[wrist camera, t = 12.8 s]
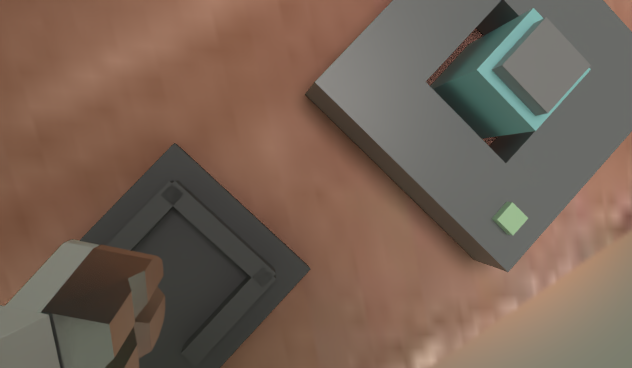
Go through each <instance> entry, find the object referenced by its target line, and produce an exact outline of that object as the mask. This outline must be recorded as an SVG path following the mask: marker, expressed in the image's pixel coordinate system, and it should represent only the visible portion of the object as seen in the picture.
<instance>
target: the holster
mask: <svg viewBox="0 0 632 368" xmlns="http://www.w3.org/2000/svg"><path fill="white" fill-rule="evenodd" d="M80 241H83V242H88V243H93V244H97V245H106V246H111V247H116V248H121V249H125V250H130V251H135V252H140V253H145V254H150V255H155V256H158V257H159V258H161V259H162V263H163V273H164V276H163V277H162V279H161V281H160V283H159V284H158V288H159V289H160V290H161V291H162V293H163V294H164V295H165V315H164V321H163V324H162V328H161V331H160V334H159V337H158V339H157V341H156V343H155V345H154V347H153V349H152V351H151V352H149V353H148V354H146V355H144V356H143V357H141V358H139V368H220V367H221V366H222V365H223V364H224V363H225V362H226V360H227V359H228V358H229V357H230V356H231V355H232V354H233V353H234V352H235V351H236V350H237V348H238V347H239V346H240V345H241V344H242V343H243V342H244V341H245V340H246V339H247V338H248V337H249V335H250V334H251V333H252V332H253V331H254V330H255V329H256V328H257V327H258V326H259V325H260V323H261V322H262V321H263V320H264V319H265V318H266V317H267V316H268V315H269V314H270V313H271V312H272V310H273V309H274V308H275V307H276V306H277V305H278V304H279V303H280V302H281V301H282V300H283V298H284V297H285V296H286V295H287V294H288V293H289V292H290V291H291V290H292V289H293V288H294V286H295V285H296V284H297V283H298V282H299V281H300V280H301V279H302V278H303V277H304V276H305V275H306V273H307V272H308V271H309V270H310V268H309V266H308V265H307V264H306V263H305V262H303V261H302V260H301V259H300V258H299V257H298V256H297V255H296V254H295V253H294V252H293V251H292V250H291V249H289V248H288V247H287V246H286V245H285V244H284V243H283V242H282V241H281V240H280V239H279V238H278V237H276V236H275V235H274V234H273V233H272V232H271V231H270V230H269V229H268V228H267V227H266V226H265V225H264V224H262V223H261V222H260V221H259V220H258V219H257V218H256V217H255V216H254V215H253V214H252V213H251V212H249V211H248V210H247V209H246V208H245V207H244V206H243V205H242V204H241V203H240V202H239V201H238V200H237V199H235V198H234V197H233V196H232V195H231V194H230V193H229V192H228V191H227V190H226V189H225V188H224V187H222V186H221V185H220V184H219V183H218V182H217V181H216V180H215V179H214V178H213V177H212V176H211V175H210V174H208V173H207V172H206V171H205V170H204V169H203V168H202V167H201V166H200V165H199V164H198V163H197V162H195V161H194V160H193V159H192V158H191V157H190V156H189V155H188V154H187V153H186V152H185V151H184V150H183V149H181V148H180V147H179V146H178V145H177V144H175V143H174V144H173V145H172V146H171V147H170V148H169V149H168V150H167V151H166V152H165V153H164V154H163V155H162V156H161V157H160V158H159V159H158V160H157V161H156V162H155V163H154V164H153V165H152V167H151V168H150V169H149V170H148V171H147V172H146V173H145V174H144V175H143V176H142V177H141V178H140V179H139V180H138V181H137V182H136V183H135V184H134V185H133V186H132V187H131V188H130V189H129V190H128V191H127V192H126V193H125V194H124V195H123V196H122V197H121V198H120V199H119V200H118V201H117V202H116V204H115V205H114V206H113V207H112V208H111V209H110V210H109V211H108V212H107V213H106V214H105V215H104V216H103V217H102V218H101V219H100V220H99V221H98V222H97V223H96V224H95V225H94V226H93V227H92V228H91V229H90V230H89V231H88V232H87V233H86V234H85V235H84V236H83V237H82V238H81V239H80Z"/></svg>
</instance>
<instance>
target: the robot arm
mask: <svg viewBox="0 0 632 368" xmlns="http://www.w3.org/2000/svg"><path fill="white" fill-rule="evenodd" d="M163 276H164V273H163V263H162V259H161V258H159V257H158V256H155V255H150V254H145V253H140V252H135V251H130V250H125V249H121V248H116V247H111V246H106V245H97V244H93V243H88V242H83V241H78V240H74V239H72V240H69V241H67V242H64V243H63V244H62V245H61V246H60V247H59V248H58V249H57V250H56V251H55V252H54V253H53V254H52V256H51V257H50V258H49V259H48V260H47V261H46V262H45V263H44V264H43V265H42V266H41V267H40V269H39V270H38V271H37V272H36V273H35V274H34V275H33V276H32V277H31V278H30V279H29V280H28V281H27V283H26V284H25V285H24V286H23V287H22V288H21V289H20V290H19V291H18V292H17V293H16V294H15V295H14V297H13V298H12V299H11V300H10V301H9V302H8V303H7V304H6V305H5V306H1V305H0V368H139V358H141V357H143V356H144V355H146V354H148V353H149V352H151V351H152V349H153V347H154V345H155V343H156V341H157V339H158V337H159V334H160V331H161V328H162V324H163V321H164V315H165V295H164V294H163V293H162V291H161V290H160V289H159V288H158V284H159V283H160V281H161V279H162V277H163Z"/></svg>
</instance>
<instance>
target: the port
mask: <svg viewBox="0 0 632 368" xmlns="http://www.w3.org/2000/svg"><path fill="white" fill-rule="evenodd" d="M532 8H534V9H535V10H536V11H537V12H538V13H539V14H540V15H541V16H542V17H543V18H545V17H547V18H548V19H549V20H550V22H551V23H552V24H553V25H554V26H555V27H556V28H557V29H558V30H559V31H560V32H561V33H562V35H563V36H564V37H565V38H566V39H567V40H568V41H569V42H570V43H571V44H572V45H573V46H574V47H575V49H576V50H577V51H578V52H579V53H580V54H581V55H582V56H583V57H584V58H585V59H586V60H587V61H588V63H589V64H590V65H591V66H590V67H589V68H590V69H591V70H590V71H589V72H588V73H587V74H586V76H585V77H584V78H583V79H582V80H581V81H580V82H579V83H578V84H577V86H576V87H575V88H574V89H573V90H572V91H571V92H570V93H569V95H568V96H567V97H566V98H565V99H564V100H563V101H562V102H561V103H560V105H559V106H558V107H557V108H556V109H555V110H554V111H553V112H552V113H551V115H550V116H549V117H548V118H547V119H546V120H545V121H544V122H543V123H542V125H541V126H540V127H539V128H538V129H537V130H536V131H532V132H525V133H518V134H511V135H504V136H498V137H497V138H496V140H495V141H494V142H493V143H492V144H491V145H490V146H488V145H487V144H486V143H485V142H484V141H483V140H482V139H481V138H480V137H479V136H478V135H477V134H476V132H475V131H474V130H473V129H472V128H471V127H470V126H469V125H468V124H467V123H466V122H465V121H464V120H463V119H462V118H461V117H460V116H459V115H458V114H457V113H456V112H455V111H454V110H453V109H452V108H451V107H450V106H449V105H448V104H447V103H446V102H445V101H444V100H443V99H442V98H441V97H440V96H439V95H438V94H437V93H436V92H435V91H434V90H433V89H432V88H431V87H430V86H429V85H428V84H427V83H426V81H427V80H428V78H429V77H430V76H431V75H432V74H433V73H434V72H435V71H436V70H437V69H438V68H439V67H440V66H441V65H442V63H443V62H444V61H445V60H446V59H447V58H448V57H449V56H450V55H451V54H452V53H453V52H454V51H455V50H456V48H457V47H458V46H459V45H460V44H461V43H462V42H463V41H464V40H465V39H466V38H467V37H468V36H469V34H470V33H471V32H472V31H473V30H474V29H475V28H477V29H478V30H479V31H480V32H481V33H482V34H483V35H486V34H488V33H490V32H491V31H493V30H495V29H497V28H499V27H500V26H502V25H504V24H506V23H507V22H509V21H511V20H513V19H515V18H516V17H518V16H520V15H522V14H524V13H525V12H527V11H529V10H531V9H532ZM305 95H306V96H307V97H308V98H309V99H311V100H312V101H313V102H314V103H315V104H316V105H317V106H318V107H319V108H320V109H321V110H322V111H323V112H324V113H325V114H326V115H327V116H328V117H329V118H330V119H331V120H332V121H333V122H334V123H335V124H336V125H337V126H338V127H339V128H340V129H341V130H342V131H343V132H344V133H345V134H346V135H347V136H348V137H349V138H350V139H351V140H352V141H354V142H355V143H356V144H357V145H358V146H359V147H360V148H361V149H362V150H363V151H364V152H365V153H366V154H367V155H368V156H369V157H370V158H371V159H372V160H373V161H374V162H375V163H376V164H377V165H378V166H379V167H380V168H381V169H382V170H383V171H384V172H385V173H386V174H387V175H388V176H389V177H390V178H391V179H392V180H393V181H394V182H396V183H397V184H398V185H399V186H400V187H401V188H402V189H403V190H404V191H405V192H406V193H407V194H408V195H409V196H410V197H411V198H412V199H413V200H414V201H415V202H416V203H417V204H418V205H419V206H420V207H421V208H422V209H423V210H424V211H425V212H426V213H427V214H428V215H429V216H430V217H431V218H432V219H433V220H434V221H435V222H436V223H437V224H439V225H440V226H441V227H442V228H443V229H444V230H445V231H446V232H447V233H448V234H449V235H450V236H451V237H452V238H453V239H454V240H455V241H456V242H457V243H458V244H459V245H460V246H461V247H462V248H463V249H464V250H465V251H466V252H467V253H468V254H469V255H470V256H471V257H472V258H473V259H474V260H477V261H479V262H482V263H485V264H487V265H490V266H493V267H496V268H498V269H501V270H504V271H506V272H509V270H510V269H511V268H512V267H513V266H514V265H515V264H516V262H517V261H518V260H519V259H520V258H521V257H522V256H523V255H524V253H525V252H526V251H527V250H528V249H529V248H530V247H531V245H532V244H533V243H534V242H535V241H536V240H537V239H538V237H539V236H540V235H541V234H542V233H543V232H544V231H545V229H546V228H547V227H548V226H549V225H550V224H551V223H552V221H553V220H554V219H555V218H556V217H557V216H558V215H559V213H560V212H561V211H562V210H563V209H564V208H565V207H566V206H567V204H568V203H569V202H570V201H571V200H572V199H573V198H574V196H575V195H576V194H577V193H578V192H579V191H580V190H581V188H582V187H583V186H584V185H585V184H586V183H587V182H588V180H589V179H590V178H591V177H592V176H593V175H594V174H595V172H596V171H597V170H598V169H599V168H600V167H601V166H602V164H603V163H604V162H605V161H606V160H607V159H608V158H609V157H610V155H611V154H612V153H613V152H614V151H615V150H616V149H617V147H618V146H619V145H620V144H621V143H622V142H623V141H624V139H625V138H626V137H627V136H628V135H629V134H630V133H631V131H632V32H631V31H630V29H629V28H628V27H627V26H626V25H625V24H624V23H623V22H622V21H621V20H620V18H619V17H618V16H617V15H616V14H615V13H614V12H613V11H612V10H611V8H610V7H609V6H608V5H607V4H606V3H605V2H604V1H603V0H393V1H392V2H391V3H390V4H389V5H388V6H387V7H386V8H385V9H384V10H383V11H382V12H381V13H380V14H379V15H378V16H377V17H376V19H375V20H374V21H373V22H372V23H371V24H370V25H369V26H368V27H367V28H366V29H365V30H364V31H363V32H362V33H361V34H360V35H359V36H358V37H357V38H356V39H355V40H354V42H353V43H352V44H351V45H350V46H349V47H348V48H347V49H346V50H345V51H344V52H343V53H342V54H341V55H340V56H339V57H338V58H337V59H336V60H335V61H334V62H333V64H332V65H331V66H330V67H329V68H328V69H327V70H326V71H325V72H324V73H323V74H322V75H321V76H320V77H319V78H318V79H317V80H316V81H315V82H314V84H313V85H312V86H311V87H310V89H309V90H308V91H307V92H306V94H305Z"/></svg>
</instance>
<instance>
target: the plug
mask: <svg viewBox="0 0 632 368" xmlns="http://www.w3.org/2000/svg"><path fill="white" fill-rule="evenodd" d="M590 66H591V65H590V64H589V63H588V61H587V60H586V59H585V58H584V57H583V56H582V55H581V54H580V53H579V52H578V51H577V50H576V49H575V47H574V46H573V45H572V44H571V43H570V42H569V41H568V40H567V39H566V38H565V37H564V36H563V35H562V33H561V32H560V31H559V30H558V29H557V28H556V27H555V26H554V25H553V24H552V23H551V22H550V20H549V19H548V18H547V17H545V18H543V17H542V16H541V15H540V14H539V13H538V12H537V11H536V10H535V9H534V8H532V9H531V10H529V11H527V12H525V13H524V14H522V15H520V16H518V17H516V18H515V19H513V20H511V21H509V22H507V23H506V24H504V25H502V26H500V27H499V28H497V29H495V30H493V31H491V32H490V33H488V34H486V35H484V36H483V37H481V38H479V39H477V40H475V41H474V42H472V43H470V44H469V45H468V46H467V47H466V48H465V49H464V50H463V51H462V52H461V53H460V54H459V55H458V56H457V57H456V59H455V60H454V61H453V62H452V63H451V64H450V65H449V66H448V67H447V68H446V69H445V70H444V71H443V73H442V74H441V75H440V76H439V77H438V78H437V79H436V80H435V81H434V82H433V83H432V84H431V85H430V87H431V88H432V89H433V90H434V91H435V92H436V93H437V94H438V95H439V96H440V97H441V98H442V99H443V100H444V101H445V102H446V103H447V104H448V105H449V106H450V107H451V108H452V109H453V110H454V111H455V112H456V113H457V114H458V115H459V116H460V117H461V118H462V119H463V120H464V121H465V122H466V123H467V124H468V125H469V126H470V127H471V128H472V129H473V130H474V131H475V132H476V134H477V135H478V136H479V137H480V138H481V139H482V138H489V137H496V136H504V135H511V134H518V133H525V132H532V131H536V130H537V129H538V128H539V127H540V126H541V125H542V123H543V122H544V121H545V120H546V119H547V118H548V117H549V116H550V115H551V113H552V112H553V111H554V110H555V109H556V108H557V107H558V106H559V105H560V103H561V102H562V101H563V100H564V99H565V98H566V97H567V96H568V95H569V93H570V92H571V91H572V90H573V89H574V88H575V87H576V86H577V84H578V83H579V82H580V81H581V80H582V79H583V78H584V77H585V76H586V74H587V73H588V72H589V71H590V70H591V69H590V68H589V67H590Z"/></svg>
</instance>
